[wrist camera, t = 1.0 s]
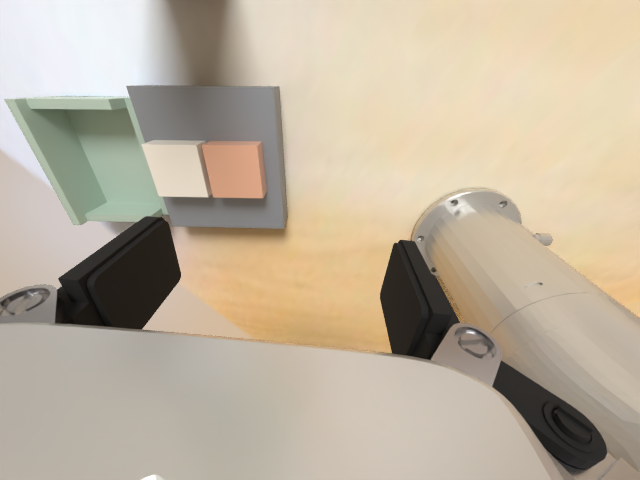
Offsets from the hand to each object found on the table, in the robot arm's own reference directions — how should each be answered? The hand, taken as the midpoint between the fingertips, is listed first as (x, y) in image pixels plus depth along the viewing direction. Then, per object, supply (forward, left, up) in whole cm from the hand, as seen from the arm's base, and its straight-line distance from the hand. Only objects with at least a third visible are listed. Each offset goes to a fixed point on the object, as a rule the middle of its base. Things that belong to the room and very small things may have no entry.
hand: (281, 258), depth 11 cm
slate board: (+10, +1, -20) cm, 22 cm away
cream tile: (+13, +1, -17) cm, 21 cm away
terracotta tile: (+7, +1, -17) cm, 18 cm away
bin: (+21, +1, -20) cm, 29 cm away
